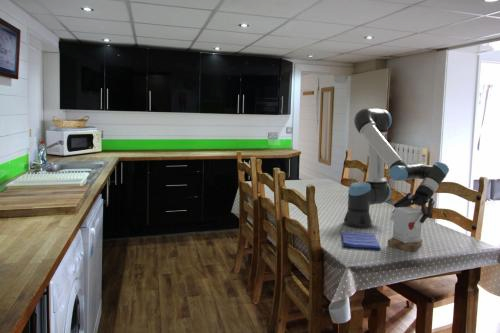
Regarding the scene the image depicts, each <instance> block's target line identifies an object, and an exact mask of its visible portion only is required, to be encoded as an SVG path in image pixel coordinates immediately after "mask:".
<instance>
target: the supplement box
mask: <svg viewBox="0 0 500 333" xmlns="http://www.w3.org/2000/svg"><path fill="white" fill-rule="evenodd" d="M394 209H395V214H394V221H393V228H392V237H393V238H395V239H397V240H399V241H401V242H403V243H413V242H420V239H421V234H422V224H423V223H421V225H420V226H419V228H418V229H416V228H415V227H414V224H415V223H416V221H417V220H418V218H419V217H420V215H421V214H422V215H423V211H422V209H417V208H415V207H412V206H408V207H399V208H395V207H394Z"/></svg>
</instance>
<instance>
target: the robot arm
mask: <svg viewBox="0 0 500 333" xmlns="http://www.w3.org/2000/svg"><path fill="white" fill-rule="evenodd" d="M353 121H354V122H353V123H354V127H355V129H356V131H357V132H358V133H359V134H360V135H361V136H364V138H365V139H366V140H367V142H368V178H366V179H365V181H360V182H359V181H356V182H352V183H350V184H349V186H348V191H347V193H348V194H347V195H348V197H347V211H346V212H345V216H344V218H343V224H344V225H345V226H348V227H349V228H355V229H368V228H371V227H372V223H373V222H372V221H373V220H372V217H371V213H370V206H372V205H381V204H383V203H386V202H388V201H389V200H390V198H391V196H392V188H391V187H390V185H389V183H388V180H387V179H386V178H385V165H386V166H387V167H388V168H389V173H388V174H389V176H390V178H391V180H394V181H396V182H398V181H399V182H401V181H402V182H403V181H408V180H418V179H419V180H422V181H421V182H420V183H419V185H418V186H417V188H416V189H415V191H414V194H412V193H410V192H408V193H407V194H406V195H405V196H404V197H402V198H401V199H399V200H397V201H396V202H395V203H393V207H394V209H393V211H392V212H391V213H392V214H391V215H390V217H389V220H390V221H391V222H394V214H395V208H399V207H411V206H414V205H415V206H418V207H421V211H423V214H421V215H420V217H419V218H418V220H417V221H416V223H415V224H414V227H415V228H416V229H418V228H419V226H420V225H421V223H422V224H424V223H425V221H426V220H427V219H432V218H433V212H434V205H435V200H434V198H433V196H434V194H435V193H436V191H437V190H438V188H439V187H440V186H441V184H442V183H443V181H444V179H445V178H446V177H447V175H448V173H449V172H450V169H449V166H448V165H447V164H446V163H444V162H441V161H436V162H434V163H433V164H432V165H428V164H424V163H423V164H422V163H418V162H409V163H408V164H406V162H405V161H404V160H403V159H402V158H401V157H400V155H399V154H398V153H397V151H396V150H395V149H394V148H393V147H392V145H391V143H389V142H388V140H387V139H386V138H385V136H386V135H387V134H388V129H389V128H390V127H391V125H392V122H393V119H392V116H391V113H390V112H389V111H387V110H386V109H383V108H382V109H381V108H362V109H360V110H359V111H358V112H356V114H355V115H354V120H353ZM427 203H428V205H427V206H426V204H427ZM421 226H422V225H421Z"/></svg>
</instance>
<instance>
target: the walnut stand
mask: <svg viewBox="0 0 500 333" xmlns="http://www.w3.org/2000/svg"><path fill="white" fill-rule="evenodd" d="M422 241H423V239H422V238H420V242H413V243H403V242H401V241H399V240H397V239H395V238H393V236H391V237H390V238H389V239H387V247H390V248H395V249H399V250H404V251H407V252H411V253H415V252H416V251H417V250H419V248H420V247H422V244H423V242H422Z"/></svg>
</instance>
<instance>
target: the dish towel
mask: <svg viewBox="0 0 500 333" xmlns="http://www.w3.org/2000/svg"><path fill="white" fill-rule="evenodd" d="M340 232H341V241H342V247H343V248H345V249H355V250H367V251H381V249H382V247H381V246H380V244H379V242H378V239H377V237H376V235H375V233H374V232H354V231H353V232H352V231H348V230H342V229H341V230H340Z"/></svg>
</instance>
